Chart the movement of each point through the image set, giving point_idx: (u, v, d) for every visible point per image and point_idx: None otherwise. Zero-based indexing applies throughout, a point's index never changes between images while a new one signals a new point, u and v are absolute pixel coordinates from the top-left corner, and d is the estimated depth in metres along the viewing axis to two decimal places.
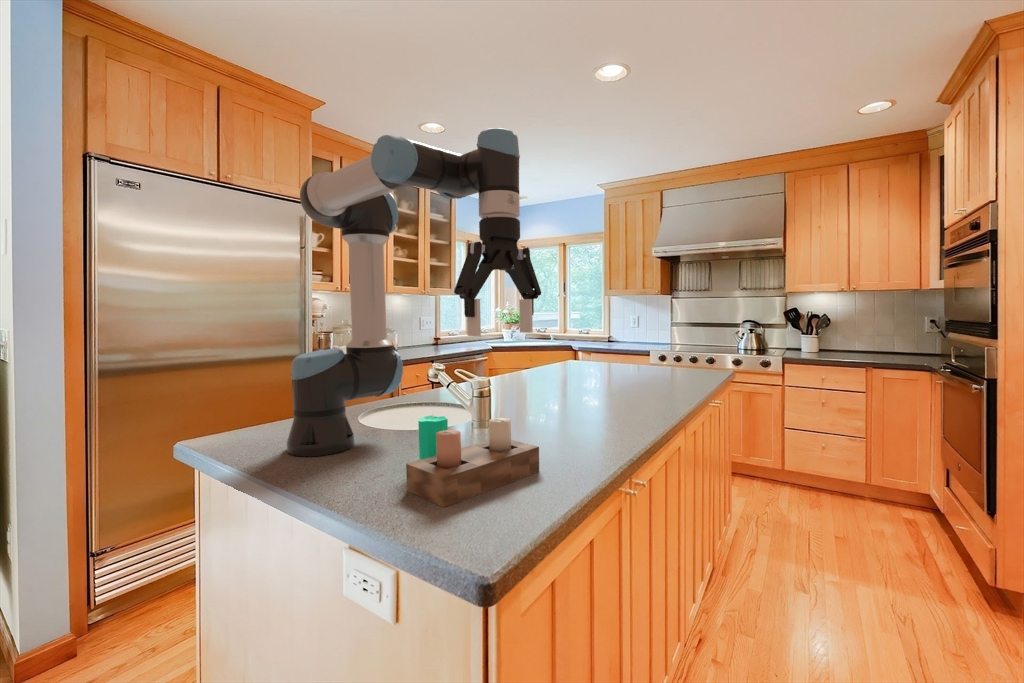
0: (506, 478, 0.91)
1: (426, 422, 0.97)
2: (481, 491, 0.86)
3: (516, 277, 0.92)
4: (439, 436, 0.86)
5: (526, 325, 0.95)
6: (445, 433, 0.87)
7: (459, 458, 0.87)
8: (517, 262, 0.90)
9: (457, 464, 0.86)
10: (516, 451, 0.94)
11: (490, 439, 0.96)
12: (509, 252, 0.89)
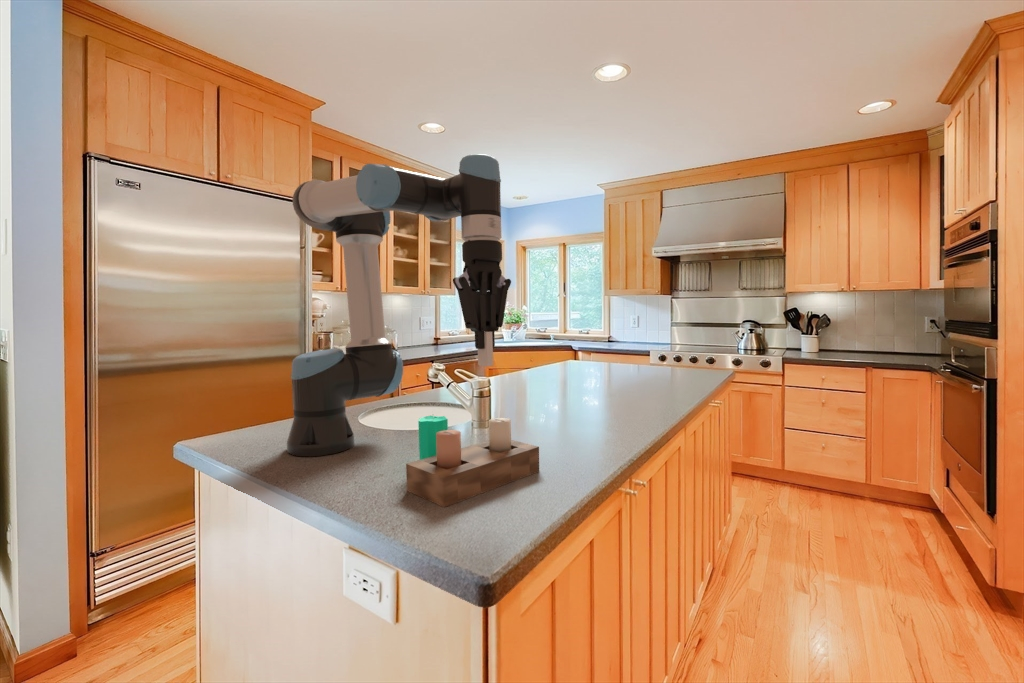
0: (506, 478, 0.91)
1: (426, 422, 0.97)
2: (481, 491, 0.86)
3: (487, 301, 0.92)
4: (439, 436, 0.86)
5: None
6: (445, 433, 0.87)
7: (459, 458, 0.87)
8: (495, 286, 0.92)
9: (457, 464, 0.86)
10: (516, 451, 0.94)
11: (490, 439, 0.96)
12: (492, 272, 0.91)
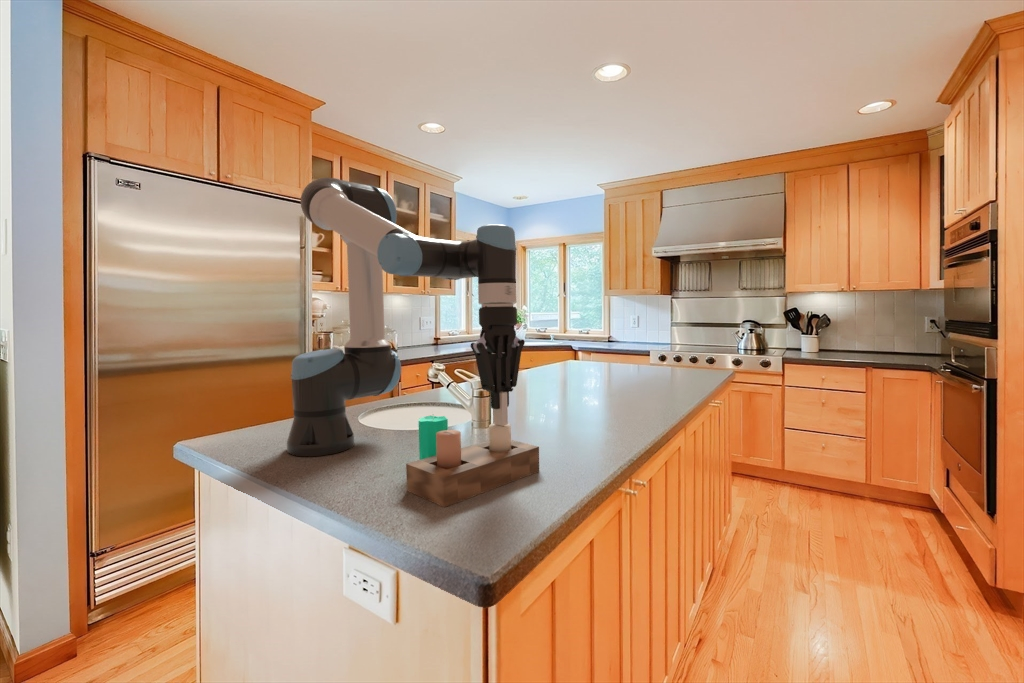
0: (506, 478, 0.91)
1: (426, 422, 0.97)
2: (481, 491, 0.86)
3: (502, 362, 0.96)
4: (439, 436, 0.86)
5: None
6: (445, 433, 0.87)
7: (459, 458, 0.87)
8: (510, 349, 0.96)
9: (457, 464, 0.86)
10: (516, 451, 0.94)
11: (490, 444, 0.96)
12: (508, 335, 0.95)
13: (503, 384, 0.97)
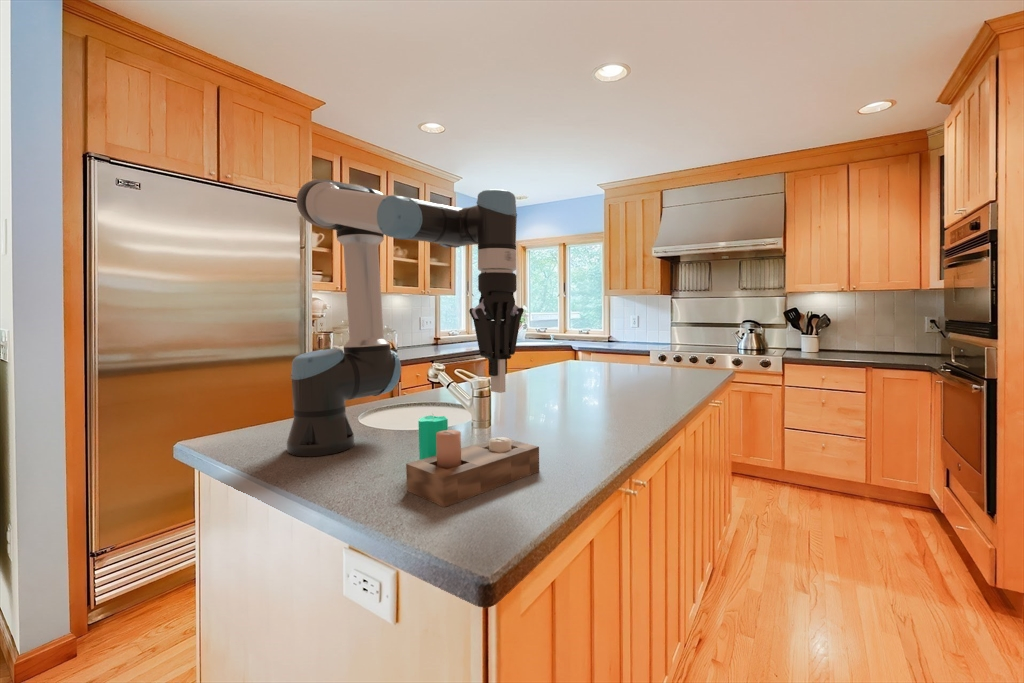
0: (506, 478, 0.91)
1: (426, 422, 0.97)
2: (481, 491, 0.86)
3: (501, 330, 0.96)
4: (439, 436, 0.86)
5: None
6: (445, 433, 0.87)
7: (459, 458, 0.87)
8: (509, 316, 0.95)
9: (457, 464, 0.86)
10: (516, 451, 0.94)
11: None
12: (507, 302, 0.95)
13: (501, 352, 0.97)
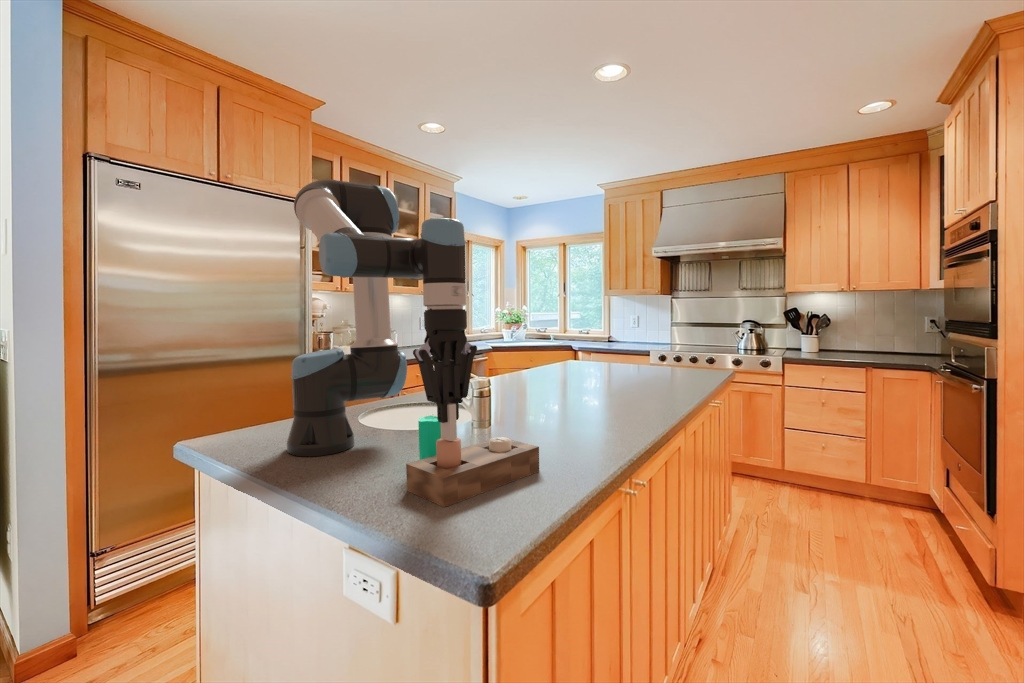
0: (506, 478, 0.91)
1: (426, 422, 0.97)
2: (481, 491, 0.86)
3: (451, 371, 0.87)
4: (439, 444, 0.86)
5: None
6: (445, 440, 0.87)
7: (459, 465, 0.87)
8: (459, 356, 0.86)
9: None
10: (516, 451, 0.94)
11: None
12: (456, 341, 0.86)
13: (452, 395, 0.88)
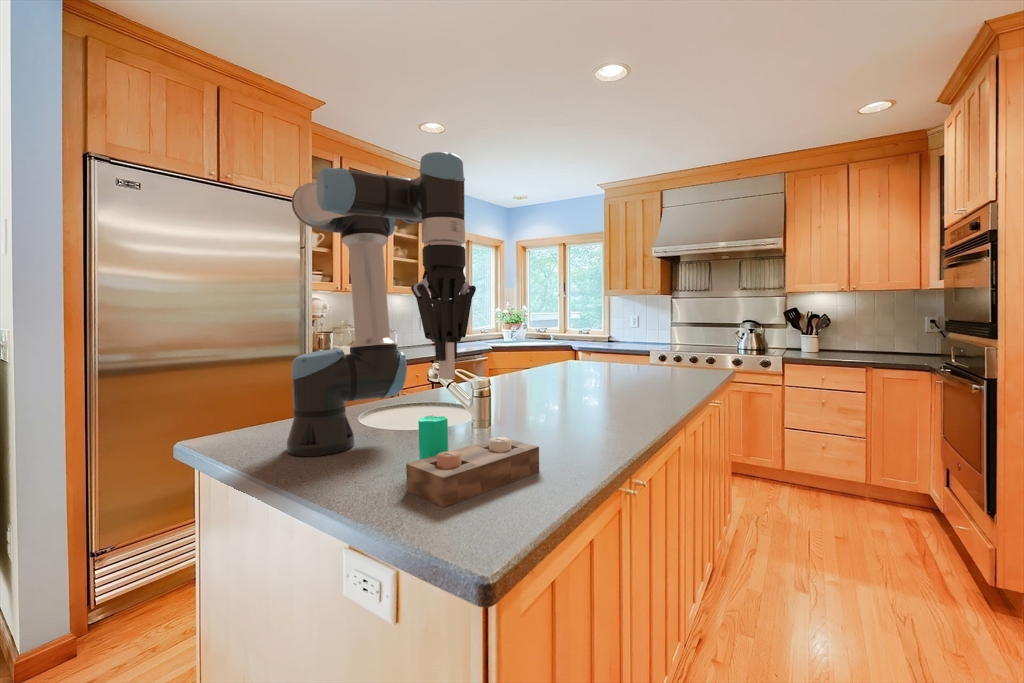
0: (506, 478, 0.91)
1: (426, 422, 0.97)
2: (481, 491, 0.86)
3: (449, 309, 0.86)
4: (440, 458, 0.86)
5: None
6: (446, 455, 0.87)
7: None
8: (457, 294, 0.86)
9: None
10: (516, 451, 0.94)
11: None
12: (455, 279, 0.85)
13: (451, 334, 0.87)
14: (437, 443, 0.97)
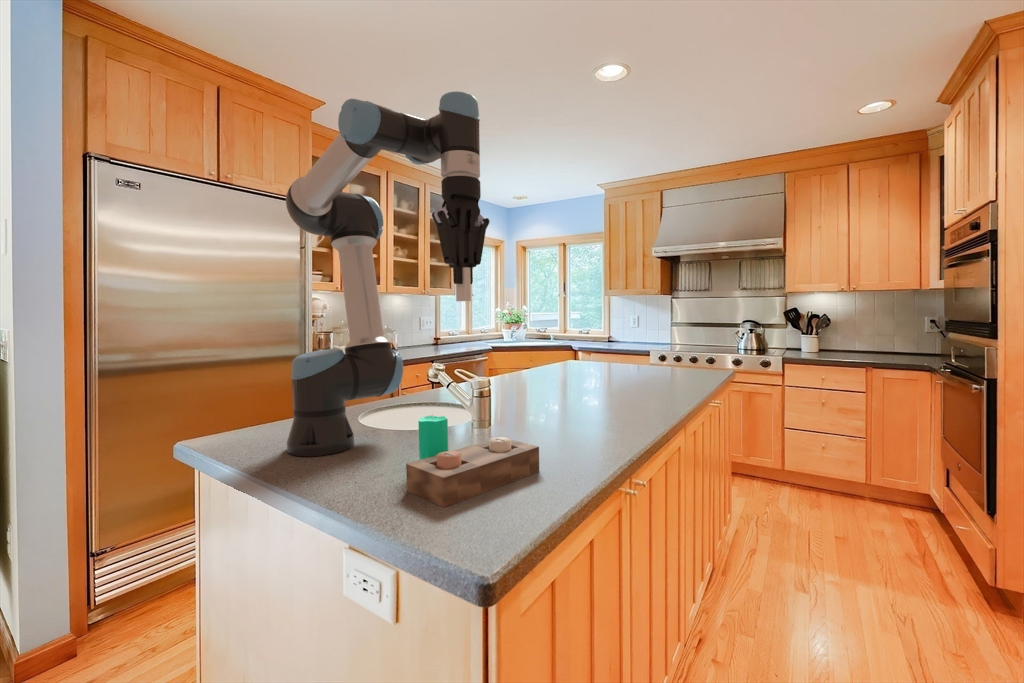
0: (506, 478, 0.91)
1: (426, 422, 0.97)
2: (481, 491, 0.86)
3: (465, 238, 0.95)
4: (440, 458, 0.86)
5: None
6: (446, 455, 0.87)
7: None
8: (473, 223, 0.94)
9: None
10: (516, 451, 0.94)
11: None
12: (471, 209, 0.94)
13: (467, 261, 0.96)
14: (437, 443, 0.97)
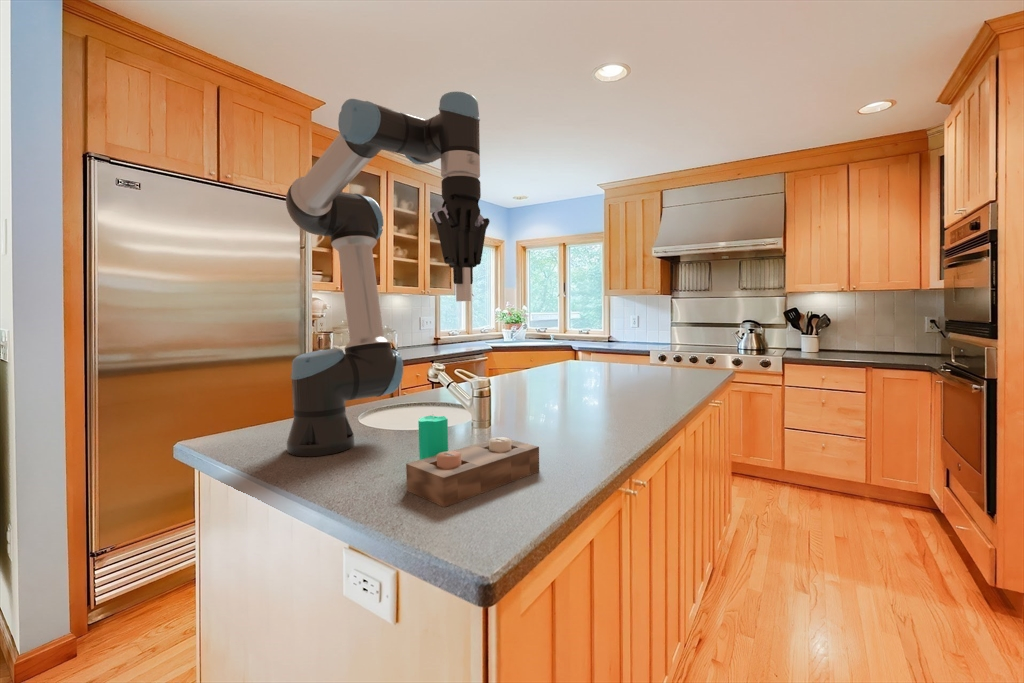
0: (506, 478, 0.91)
1: (426, 422, 0.97)
2: (481, 491, 0.86)
3: (465, 238, 0.95)
4: (440, 458, 0.86)
5: None
6: (446, 455, 0.87)
7: None
8: (473, 223, 0.94)
9: None
10: (516, 451, 0.94)
11: None
12: (471, 209, 0.94)
13: (467, 261, 0.96)
14: (437, 443, 0.97)
